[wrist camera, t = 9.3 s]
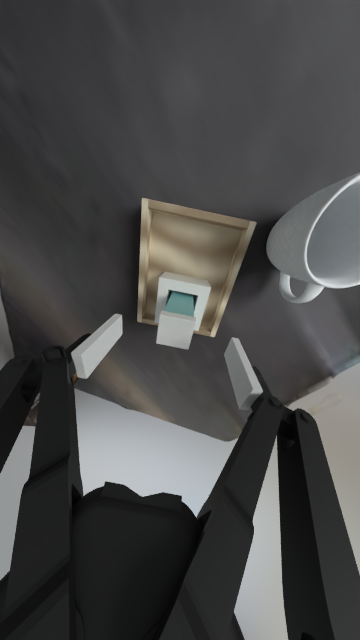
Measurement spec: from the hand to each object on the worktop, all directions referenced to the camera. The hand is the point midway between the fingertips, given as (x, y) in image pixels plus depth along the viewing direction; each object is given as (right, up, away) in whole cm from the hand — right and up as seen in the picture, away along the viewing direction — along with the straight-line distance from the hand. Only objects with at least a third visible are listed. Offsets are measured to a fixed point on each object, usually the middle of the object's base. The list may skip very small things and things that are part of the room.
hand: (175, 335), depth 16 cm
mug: (+20, +16, +10) cm, 27 cm away
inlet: (+1, +8, +15) cm, 17 cm away
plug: (+1, +6, +12) cm, 13 cm away
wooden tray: (+2, +11, +13) cm, 17 cm away
